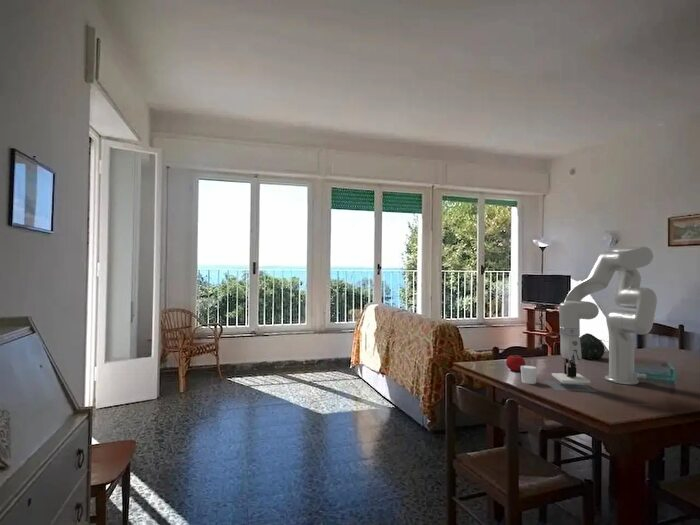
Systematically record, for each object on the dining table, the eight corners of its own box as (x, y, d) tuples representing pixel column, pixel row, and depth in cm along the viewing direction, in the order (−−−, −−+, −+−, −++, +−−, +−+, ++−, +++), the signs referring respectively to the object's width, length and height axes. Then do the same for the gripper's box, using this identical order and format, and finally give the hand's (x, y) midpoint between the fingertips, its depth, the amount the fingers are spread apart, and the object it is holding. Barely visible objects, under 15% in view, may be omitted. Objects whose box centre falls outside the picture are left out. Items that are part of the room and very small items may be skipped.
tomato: (515, 367, 208) (515, 351, 208) (529, 371, 200) (529, 355, 200) (501, 369, 204) (502, 352, 205) (516, 373, 196) (516, 356, 197)
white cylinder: (539, 385, 175) (539, 369, 176) (521, 384, 177) (522, 368, 177) (535, 381, 182) (535, 365, 182) (518, 380, 184) (518, 364, 184)
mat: (581, 383, 180) (581, 382, 180) (597, 392, 166) (597, 391, 166) (543, 381, 182) (543, 380, 182) (555, 391, 168) (555, 390, 168)
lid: (578, 375, 179) (578, 360, 179) (590, 383, 168) (590, 367, 168) (551, 375, 180) (551, 360, 180) (562, 382, 169) (561, 366, 169)
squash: (597, 346, 242) (581, 326, 242) (615, 352, 227) (598, 331, 227) (579, 362, 242) (563, 342, 241) (595, 369, 227) (578, 348, 226)
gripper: (588, 335, 166) (588, 381, 166) (570, 328, 182) (571, 370, 182) (568, 334, 167) (569, 380, 167) (552, 328, 183) (553, 370, 183)
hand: (570, 375), depth 174 cm, fingers closed on lid, 2 cm apart
